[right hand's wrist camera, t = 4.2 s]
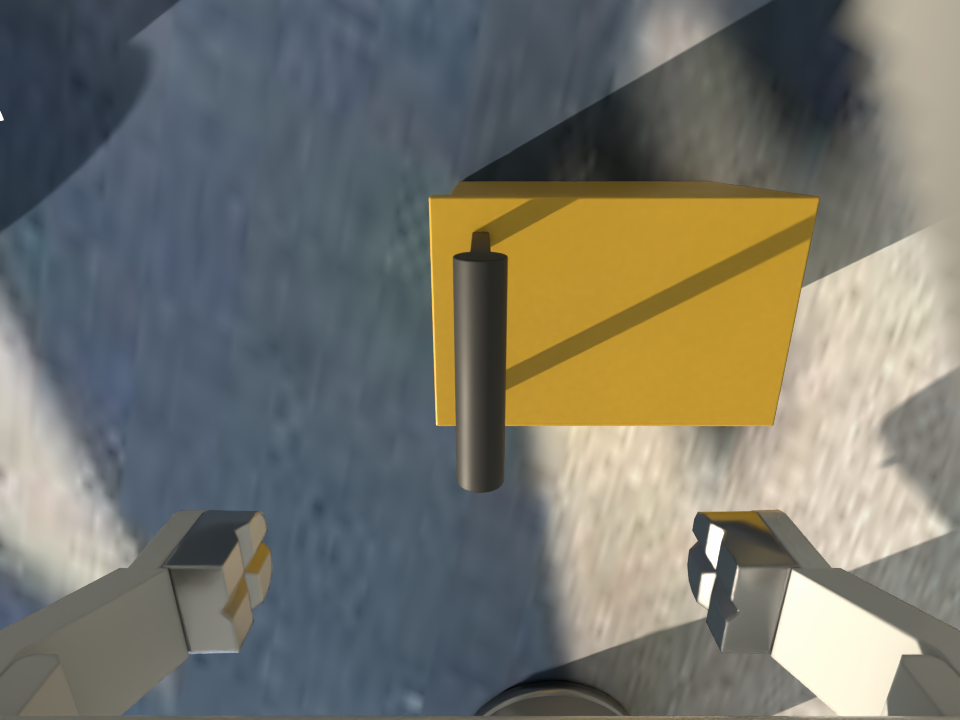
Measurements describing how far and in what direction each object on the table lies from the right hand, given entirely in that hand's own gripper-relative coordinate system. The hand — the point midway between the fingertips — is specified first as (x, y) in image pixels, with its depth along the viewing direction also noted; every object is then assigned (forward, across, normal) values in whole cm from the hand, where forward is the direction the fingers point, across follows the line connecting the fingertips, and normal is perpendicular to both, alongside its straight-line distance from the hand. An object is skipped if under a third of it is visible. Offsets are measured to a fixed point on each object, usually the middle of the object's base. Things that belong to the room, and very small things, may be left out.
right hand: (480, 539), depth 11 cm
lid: (+16, +6, 0) cm, 17 cm away
